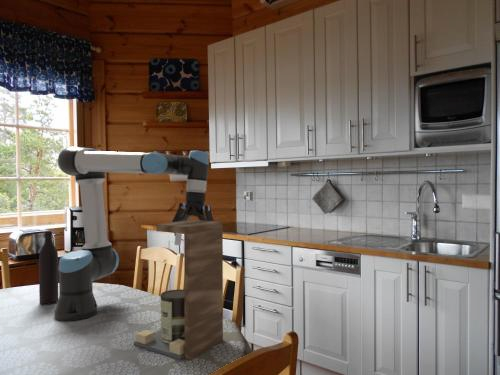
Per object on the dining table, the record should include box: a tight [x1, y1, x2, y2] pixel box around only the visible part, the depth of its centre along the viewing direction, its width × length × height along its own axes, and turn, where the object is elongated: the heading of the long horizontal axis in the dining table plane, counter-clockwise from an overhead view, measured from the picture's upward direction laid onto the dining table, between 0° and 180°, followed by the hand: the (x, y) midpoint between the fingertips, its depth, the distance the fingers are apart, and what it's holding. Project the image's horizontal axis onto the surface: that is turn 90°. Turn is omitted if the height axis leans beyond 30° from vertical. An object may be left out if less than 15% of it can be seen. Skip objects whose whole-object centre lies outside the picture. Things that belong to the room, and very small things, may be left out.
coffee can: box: [159, 288, 185, 343], centre depth 126 cm, size 10×10×14 cm
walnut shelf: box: [155, 219, 224, 360], centre depth 123 cm, size 13×16×38 cm
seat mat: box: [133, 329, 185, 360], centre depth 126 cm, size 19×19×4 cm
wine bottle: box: [38, 230, 59, 305], centre depth 165 cm, size 7×7×30 cm
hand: (191, 247), depth 150 cm, fingers open, 13 cm apart
